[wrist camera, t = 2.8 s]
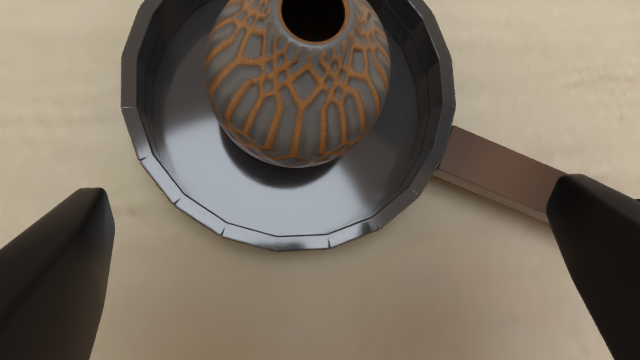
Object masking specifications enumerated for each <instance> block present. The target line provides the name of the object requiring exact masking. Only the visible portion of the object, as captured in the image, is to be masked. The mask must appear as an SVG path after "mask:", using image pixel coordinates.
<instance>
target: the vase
mask: <svg viewBox="0 0 640 360" xmlns="http://www.w3.org/2000/svg"><path fill="white" fill-rule="evenodd" d="M390 75H391V59H390V51H389V45H388V40H387V37H386V34H385V31H384V29H383V26H382V24H381V22H380V20H379V18H378V16H377V14H376V13H375V11H374V10H373V8H372V7H371V5H370V4H369V3H368V2H367V1H366V0H229V2H228V3H227V4H226V5H225V7H224V8H223V9H222V11H221V12H220V14H219V16H218V18H217V20H216V21H215V23H214V25H213V27H212V30H211V32H210V35H209V38H208V41H207V45H206V49H205V56H204V82H205V88H206V93H207V97H208V100H209V103H210V106H211V108H212V111H213V113H214V115H215V117H216V119H217V121H218V122H219V124H220V125H221V127H222V128H223V130H224V131H225V133H226V134H227V135H228V136H229V137H230V139H231V140H232V141H233V142H234V143H235V144H237V145H238V146H239V147H240V148H241V149H243V150H244V151H245V152H247V153H248V154H250V155H251V156H253V157H255V158H257V159H259V160H261V161H264V162H266V163H269V164H273V165H276V166H282V167H289V168H304V167H311V166H316V165H320V164H323V163H326V162H329V161H331V160H333V159H335V158H337V157H339V156H341V155H343V154H344V153H346V152H347V151H349V150H350V149H351V148H353V147H354V146H355V145H356V144H358V143H359V142H360V141H361V140H362V139H363V138H364V137H365V136H366V134H367V133H368V132H369V131H370V129H371V128H372V127H373V125H374V124H375V122H376V121H377V119H378V117H379V115H380V113H381V111H382V109H383V106H384V104H385V101H386V98H387V94H388V90H389V84H390Z"/></svg>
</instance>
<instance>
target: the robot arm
mask: <svg viewBox="0 0 640 360" xmlns="http://www.w3.org/2000/svg"><path fill="white" fill-rule="evenodd" d="M546 216H547V219H548V221H549V224H550V226H551V229H552V231H553V234H554V236H555V239H556V241H557V244H558V246H559V249H560V251H561V254H562V256H563V259H564V261H565V264H566V266H567V269H568V271H569V273H570V276H571V278H572V280H573V282H574V284H575V286H576V288H577V290H578V292H579V294H580V296H581V298H582V299H583V301H584V303H585V305H586V307H587V309H588V311H589V313H590V315H591V316H592V318H593V320H594V322H595V324H596V326H597V328H598V330H599V332H600V334H601V335H602V337H603V339H604V341H605V343H606V345H607V347H608V349H609V351H610V352H611V354H612V356H613V358H614V360H640V202H639V201H637V200H635V199H633V198H631V197H628V196H626V195H624V194H622V193H620V192H618V191H616V190H614V189H612V188H610V187H608V186H606V185H604V184H602V183H600V182H598V181H596V180H594V179H591V178H589V177H587V176H585V175H583V174H564V175H562V176H560V177H559V178H558V180H557V182H556V184H555V186H554V188H553V190H552V193H551V195H550V197H549V199H548V201H547V204H546ZM114 235H115V223H114V219H113V215H112V211H111V207H110V204H109V200H108V196H107V193H106V191H105V190H104V189H103V188H81V189H78V190H77V191H75V192H74V193H73V194H72V195H70V196H69V197H68V198H66V199H65V200H64V201H62V202H61V203H60V204H59V205H57V206H56V207H55V208H53V209H52V210H51V211H50V212H48V213H47V214H46V215H44V216H43V217H42V218H40V219H39V220H38V221H37V222H35V223H34V224H33V225H31V226H30V227H29V228H27V229H26V230H25V231H24V232H22V233H21V234H20V235H18V236H17V237H16V238H15V239H13V240H12V241H11V242H9V243H8V244H7V245H5V246H4V247H3V248H2V249H0V360H89V359H90V355H91V351H92V348H93V344H94V341H95V337H96V334H97V330H98V326H99V323H100V319H101V315H102V311H103V307H104V302H105V296H106V290H107V283H108V276H109V269H110V262H111V255H112V249H113V242H114Z"/></svg>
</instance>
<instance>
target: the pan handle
mask: <svg viewBox="0 0 640 360" xmlns="http://www.w3.org/2000/svg"><path fill="white" fill-rule="evenodd" d="M564 174H567V173H564V172H562V171H560V170H557V169H555V168H553V167H550V166H548V165H546V164H543V163H541V162H539V161H536V160H534V159H532V158H529V157H527V156H524V155H522V154H520V153H517V152H515V151H513V150H510V149H508V148H506V147H503V146H501V145H499V144H496V143H494V142H492V141H489V140H487V139H485V138H482V137H480V136H478V135H475V134H473V133H471V132H468V131H466V130H464V129H461V128H459V127H457V126H454V125H453V126H451V131H450V135H449V139H448V144H447V148H446V153H445V154H444V157H443V159H442V160H441V162H440V164H439V165H438V167H437V169H436V170H435V172H434V173H433V175H434V176H436V177H439V178H441V179H443V180H446V181H448V182H451V183H453V184H455V185H458V186H460V187H463V188H465V189H467V190H470V191H472V192H475V193H477V194H479V195H482V196H484V197H487V198H489V199H491V200H494V201H496V202H499V203H501V204H503V205H506V206H508V207H511V208H513V209H515V210H518V211H520V212H523V213H525V214H527V215H530V216H532V217H535V218H537V219H539V220H542V221H544V222H547V223H549V221H548V219H547V216H546V204H547V201H548V199H549V197H550V195H551V193H552V190H553V188H554V186H555V184H556V182H557V180H558V178H559V177H560V176H562V175H564ZM635 200H637V201H639V202H640V199H635Z"/></svg>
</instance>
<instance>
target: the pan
mask: <svg viewBox="0 0 640 360" xmlns="http://www.w3.org/2000/svg"><path fill="white" fill-rule="evenodd" d="M366 1H367V2H368V3H369V4H370V5H371V7H372V8H373V10H374V11H375V13H376V14H377V16H378V18H379V20H380V22H381V24H382V26H383V29H384V31H385V34H386V37H387V40H388V45H389V51H390V59H391V75H390V84H389V90H388V94H387V98H386V101H385V104H384V106H383V109H382V111H381V113H380V115H379V117H378V119H377V121H376V122H375V124H374V125H373V127H372V128H371V129H370V131H369V132H368V133H367V134H366V136H365V137H364V138H363V139H362V140H361V141H360V142H359V143H358V144H356V145H355V146H354V147H353V148H351V149H350V150H349V151H347V152H346V153H344V154H343V155H341V156H339V157H337V158H335V159H333V160H331V161H329V162H326V163H323V164H320V165H316V166H311V167H304V168H289V167H282V166H276V165H273V164H269V163H266V162H264V161H261V160H259V159H257V158H255V157H253V156H251V155H250V154H248V153H247V152H245V151H244V150H243V149H241V148H240V147H239V146H238V145H237V144H235V143H234V142H233V141H232V140H231V139H230V137H229V136H228V135H227V134H226V133H225V131H224V130H223V128H222V127H221V125H220V124H219V122H218V121H217V119H216V117H215V115H214V113H213V111H212V108H211V106H210V103H209V100H208V97H207V93H206V88H205V82H204V56H205V49H206V45H207V41H208V38H209V35H210V32H211V30H212V27H213V25H214V23H215V21H216V20H217V18H218V16H219V14H220V12H221V11H222V9H223V8H224V7H225V5H226V4H227V3H228V2H229V0H145V1H144V2H143V3H142V4H141V5H140V8H139V9H138V12H137V15H136V17H135V20H134V23H133V26H132V28H131V31H130V34H129V36H128V39H127V42H126V45H125V47H124V50H123V53H122V57H121V109H122V114H123V117H124V120H125V123H126V126H127V129H128V132H129V135H130V138H131V140H132V143H133V146H134V149H135V152H136V155H137V158H138V160H139V161H140V164H141V165H142V166H143V168H144V169H145V170H146V171H147V173H148V174H149V175H150V177H151V178H152V179H153V180H154V182H155V183H156V184H157V186H158V187H159V188H160V189H161V191H162V192H163V193H164V194H165V196H166V197H167V198H168V200H169V201H170V202H171V203H172V204H173V205H174V206H175V207H176V208H177V209H179V210H180V211H182V212H183V213H185V214H186V215H188V216H189V217H191V218H192V219H194V220H195V221H197V222H198V223H200V224H202V225H203V226H205V227H206V228H208V229H209V230H211V231H212V232H214V233H215V234H217V235H218V236H220V237H222V238H225V239H229V240H233V241H236V242H240V243H244V244H247V245H251V246H254V247H258V248H262V249H265V250H269V251H273V252H274V251H275V252H287V251H307V250H327V249H332V248H335V247H337V246H340V245H342V244H345V243H348V242H350V241H353V240H355V239H358V238H361V237H363V236H366V235H368V234H371V233H373V232H376V231H378V230H379V229H381V228H383V227H384V226H385V225H386V224H387V223H389V222H390V221H391V220H392V219H393V218H395V217H396V216H397V215H398V214H399V213H401V212H402V211H403V210H404V209H405V208H407V207H408V206H409V205H410V204H411V203H413V202H414V201H415V200H416V199H417V198H418V197H419V196H420V195H421V193H422V191H423V190H424V188H425V187H426V185H427V183H428V182H429V180H430V178H431V177H432V175H433V173H434V172H435V170H436V169H437V167H438V165H439V164H440V162H441V160H442V159H443V157H444V154H445V153H446V148H447V144H448V139H449V135H450V131H451V126H452V122H453V118H454V113H455V109H456V101H455V89H454V78H453V67H452V59H451V55H450V53H449V50H448V48H447V46H446V43H445V41H444V38H443V36H442V33H441V31H440V28H439V26H438V24H437V21H436V19H435V16H434V14H432V11H431V10H430V9H429V7H428V6H427V5H426V4H425V2H424V1H423V0H366Z"/></svg>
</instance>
